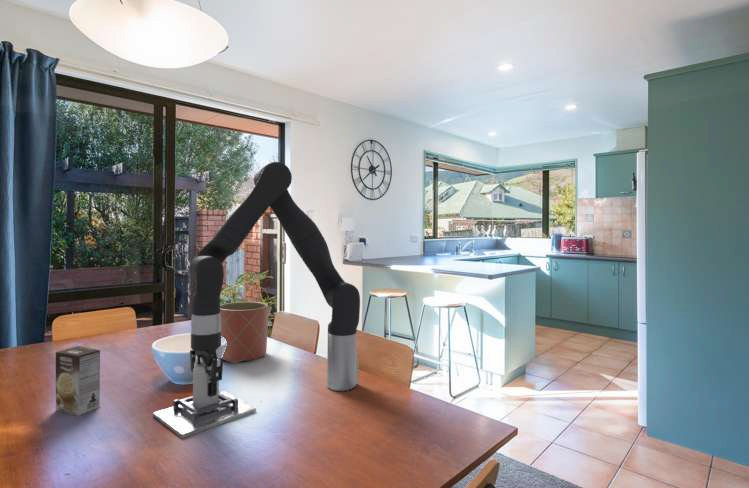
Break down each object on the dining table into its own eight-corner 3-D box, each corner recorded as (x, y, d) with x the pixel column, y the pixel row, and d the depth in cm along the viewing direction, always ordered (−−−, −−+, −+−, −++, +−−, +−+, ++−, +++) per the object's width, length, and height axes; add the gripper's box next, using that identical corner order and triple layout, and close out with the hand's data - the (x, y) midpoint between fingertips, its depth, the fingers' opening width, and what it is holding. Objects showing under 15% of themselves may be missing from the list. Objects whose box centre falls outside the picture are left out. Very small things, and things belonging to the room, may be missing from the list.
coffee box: (54, 411, 111) (53, 351, 110) (78, 401, 117) (77, 345, 116) (78, 416, 108) (78, 355, 107) (101, 406, 114) (101, 349, 113)
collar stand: (224, 394, 123) (224, 381, 123) (256, 411, 112) (256, 397, 112) (153, 416, 108) (153, 402, 108) (182, 438, 97) (182, 422, 97)
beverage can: (209, 413, 107) (209, 368, 106) (187, 411, 108) (187, 366, 107) (223, 403, 113) (223, 360, 112) (202, 401, 114) (202, 358, 114)
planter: (252, 346, 174) (252, 299, 174) (277, 356, 161) (277, 306, 161) (208, 356, 161) (208, 305, 160) (231, 367, 147) (231, 312, 147)
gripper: (233, 332, 108) (232, 395, 108) (206, 323, 117) (206, 381, 118) (205, 337, 102) (205, 404, 103) (180, 328, 112) (179, 389, 112)
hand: (205, 392), depth 110 cm, fingers closed on beverage can, 6 cm apart
